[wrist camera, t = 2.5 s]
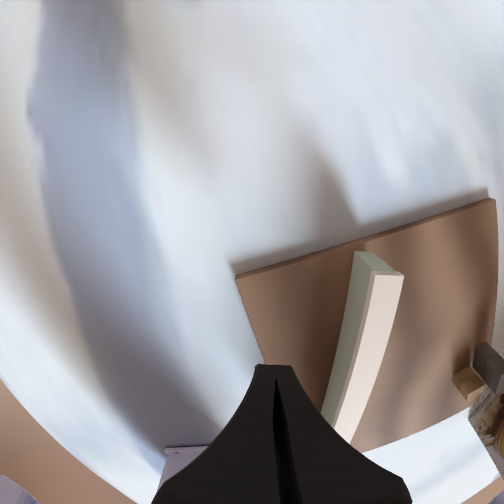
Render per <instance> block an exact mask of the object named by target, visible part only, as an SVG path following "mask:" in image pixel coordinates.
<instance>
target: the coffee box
mask: <svg viewBox="0 0 504 504" xmlns="http://www.w3.org/2000/svg"><path fill="white" fill-rule="evenodd" d="M468 420H469V422H470V424H471V425H472V427H473V428H474V430H475V431H476V433H477V434H478V436H479V438H480V440H481V441H482V443H483V444H484V446H485V448H486V450H487V451H488V453H489V455H490V457H491V458H492V460H493V462H494V464H495V465H496V467H497V469H498V471H499V473H500V474H501V476H502V478H503V480H504V390H502V391H501V392H499V393H498V394H496V395H495V394H494V393H493V391H492V392H491V393H490V395H489V396H488V397H487V398H486V400H485V401H484V402H483V403H482V404H481V405H480V407H479V408H478V409H477V410H476V411H475V412H474V413H473V414H472V416H471V417H470V418H469V419H468Z"/></svg>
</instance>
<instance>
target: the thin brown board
mask: <svg viewBox="0 0 504 504" xmlns="http://www.w3.org/2000/svg"><path fill="white" fill-rule="evenodd" d="M354 251H364V252H373V253H374V254H376V255H377V256H378V257H379V258H380V259H382V260H383V261H384V262H385V263H386V264H388V265H389V266H390V267H391V268H392V269H393V270H395V271H396V272H400V273H401V274H403V275H404V279H403V284H402V289H401V293H400V297H399V302H398V306H397V310H396V314H395V318H394V321H393V325H392V329H391V332H390V336H389V339H388V343H387V346H386V349H385V353H384V356H383V359H382V362H381V365H380V368H379V371H378V374H377V377H376V380H375V383H374V385H373V388H372V391H371V394H370V396H369V399H368V401H367V404H366V407H365V409H364V412H363V414H362V416H361V419H360V421H359V424H358V426H357V428H356V431H355V433H354V435H353V437H352V440H351V442H350V445H351V446H353V447H354V448H355V449H356V450H358V451H359V452H360V453H363V452H366V451H369V450H372V449H375V448H378V447H381V446H384V445H387V444H389V443H392V442H395V441H397V440H400V439H402V438H405V437H407V436H410V435H412V434H415V433H417V432H419V431H422V430H424V429H426V428H428V427H430V426H433V425H435V424H437V423H439V422H441V421H443V420H445V419H447V418H449V417H451V416H453V415H455V414H457V413H459V412H461V411H462V410H464V409H466V408H468V407H470V406H471V405H473V404H475V403H477V402H478V399H479V396H480V394H481V393H482V392H484V388H485V383H486V384H487V385H488V386H489V388H490V389H491V390H492V391H493V393H494V394H495V395H496V394H498V393H499V392H501V391H502V390H504V359H503V358H502V357H501V356H500V355H499V354H498V353H497V352H496V351H495V350H494V349H493V348H492V347H491V340H492V334H493V327H494V319H495V310H496V299H497V284H498V225H497V211H496V200H495V199H491V198H488V199H485V200H482V201H479V202H476V203H473V204H470V205H467V206H463V207H460V208H457V209H454V210H451V211H448V212H445V213H442V214H439V215H436V216H433V217H429V218H426V219H423V220H420V221H417V222H414V223H410V224H407V225H404V226H401V227H398V228H395V229H391V230H388V231H385V232H382V233H378V234H375V235H372V236H369V237H365V238H362V239H359V240H355V241H352V242H349V243H346V244H342V245H339V246H336V247H332V248H329V249H326V250H322V251H319V252H316V253H312V254H309V255H305V256H302V257H299V258H295V259H292V260H288V261H285V262H281V263H278V264H275V265H271V266H268V267H264V268H261V269H257V270H254V271H250V272H247V273H243V274H240V275H236V277H235V282H236V285H237V288H238V291H239V293H240V296H241V299H242V302H243V304H244V307H245V310H246V313H247V315H248V318H249V321H250V324H251V326H252V329H253V332H254V334H255V337H256V340H257V342H258V345H259V348H260V350H261V353H262V356H263V358H264V361H265V364H268V365H291V366H292V367H293V370H294V372H295V374H296V376H297V378H298V380H299V382H300V383H301V385H302V387H303V389H304V390H305V392H306V393H307V395H308V396H309V398H310V399H311V401H312V402H313V404H314V405H315V407H316V408H317V409H318V411H319V412H320V413H321V409H322V406H323V402H324V399H325V395H326V391H327V387H328V384H329V380H330V376H331V372H332V367H333V363H334V359H335V355H336V350H337V346H338V341H339V337H340V332H341V327H342V322H343V317H344V312H345V306H346V301H347V295H348V289H349V283H350V277H351V271H352V264H353V257H354ZM483 380H484V382H485V383H484V382H483Z"/></svg>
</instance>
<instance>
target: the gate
mask: <svg viewBox="0 0 504 504" xmlns="http://www.w3.org/2000/svg"><path fill="white" fill-rule="evenodd" d="M403 279H404V275H403V274H401V273H400V272H396V271H395V270H393V269H392V268H391V267H390V266H389V265H388V264H386V263H385V262H384V261H383V260H382V259H380V258H379V257H378V256H377V255H376V254H374V253H373V252H364V251H354V257H353V264H352V271H351V277H350V283H349V289H348V295H347V301H346V306H345V312H344V317H343V322H342V327H341V332H340V337H339V341H338V346H337V350H336V355H335V359H334V363H333V367H332V372H331V376H330V380H329V384H328V387H327V391H326V395H325V399H324V402H323V406H322V409H321V415H322V416H323V417H324V418H325V420H326V421H327V422H328V423H329V424H330V425H331V426H332V428H333V429H334V430H335V431H336V432H337V433H338V434H339V435H340V436H341V437H342V438H343V439H345V440H346V441H347V442H348V443H349V444H350V442H351V440H352V437H353V435H354V433H355V431H356V428H357V426H358V424H359V421H360V419H361V416H362V414H363V412H364V409H365V407H366V404H367V401H368V399H369V396H370V394H371V391H372V388H373V385H374V383H375V380H376V377H377V374H378V371H379V368H380V365H381V362H382V359H383V356H384V353H385V349H386V346H387V343H388V339H389V336H390V332H391V329H392V325H393V321H394V318H395V314H396V310H397V306H398V302H399V297H400V293H401V289H402V284H403Z"/></svg>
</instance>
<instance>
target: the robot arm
mask: <svg viewBox="0 0 504 504" xmlns="http://www.w3.org/2000/svg"><path fill="white" fill-rule="evenodd" d="M164 453H165V454H166V455H167V459H166V462H165V466H164V469H163V473H162V476H161V479H160V483H159V486H158V490H157V493H156V495H155V497H154V499H153V501H152V503H151V504H412V499H411V496H410V493H409V491H408V488H407V486H406V484H405V483H404V481H403V479H402V478H401V477H399V476H397V475H395V474H393V473H392V472H390V471H388V470H386V469H384V468H382V467H380V466H379V465H377V464H376V463H374V462H372V461H371V460H369V459H368V458H366V457H365V456H364V455H363V454H361V453H360V452H359V451H358V450H356V449H355V448H354V447H353V446H351V445H350V444H349V443H348V442H347V441H346V440H345V439H343V438H342V437H341V436H340V435H339V434H338V433H337V432H336V431H335V430H334V429H333V428H332V426H331V425H330V424H329V423H328V422H327V421H326V420H325V418H324V417H323V416H322V415H321V413H320V412H319V411H318V409H317V408H316V407H315V405H314V404H313V402H312V401H311V399H310V398H309V396H308V395H307V393H306V392H305V390H304V389H303V387H302V385H301V383H300V382H299V380H298V378H297V376H296V374H295V372H294V370H293V367H292V366H291V365H268V364H258V365H256V366H255V371H254V375H253V378H252V381H251V383H250V386H249V388H248V390H247V392H246V394H245V396H244V398H243V400H242V402H241V404H240V405H239V407H238V409H237V410H236V412H235V414H234V415H233V417H232V418H231V420H230V421H229V422H228V424H227V425H226V426H225V428H224V429H223V430H222V431H221V433H220V434H219V435H218V436H217V437H216V438H215V440H214V441H213V442H212V443H211V444H210V445H209V446H199V447H181V448H165V450H164ZM0 504H41V503H39V502H37V501H36V499H35V498H34V497H33V496H32V495H31V494H30V493H29V492H27V491H26V490H25V489H23V488H22V487H20V486H19V485H17V484H15V483H14V482H12V481H11V480H10V479H8V478H6V477H5V476H4V475H0ZM488 504H504V490H503V491H502V492H501V493H499V494H498V495H497V496H496V497H494V498H493V499H492V500H491V501H490V503H488Z"/></svg>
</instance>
